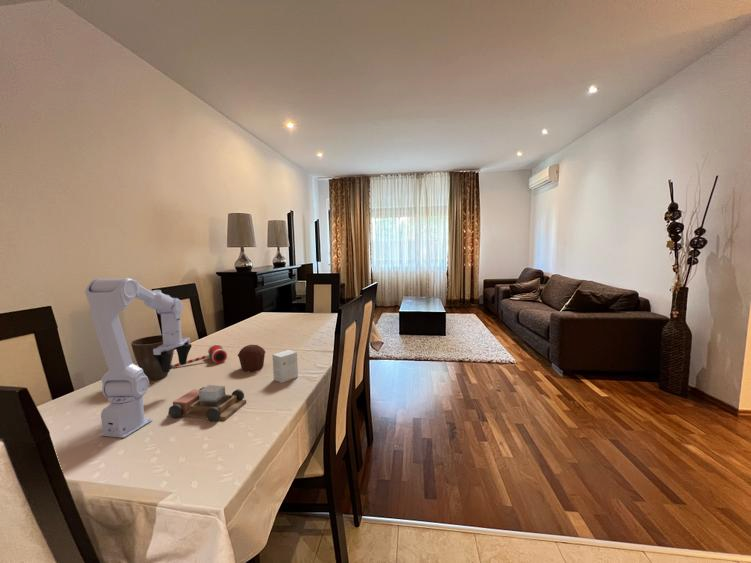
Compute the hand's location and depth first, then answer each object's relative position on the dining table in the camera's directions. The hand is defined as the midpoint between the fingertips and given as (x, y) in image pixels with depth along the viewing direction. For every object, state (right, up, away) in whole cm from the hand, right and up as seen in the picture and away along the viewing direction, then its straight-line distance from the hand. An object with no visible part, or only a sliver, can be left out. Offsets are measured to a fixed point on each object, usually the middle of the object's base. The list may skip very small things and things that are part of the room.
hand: (174, 368), depth 115 cm
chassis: (+18, -10, -11) cm, 24 cm away
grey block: (+20, -9, -12) cm, 25 cm away
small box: (+37, -8, +13) cm, 40 cm away
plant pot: (-17, -8, +16) cm, 25 cm away
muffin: (+19, -7, +25) cm, 32 cm away
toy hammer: (-7, -7, +33) cm, 35 cm away
